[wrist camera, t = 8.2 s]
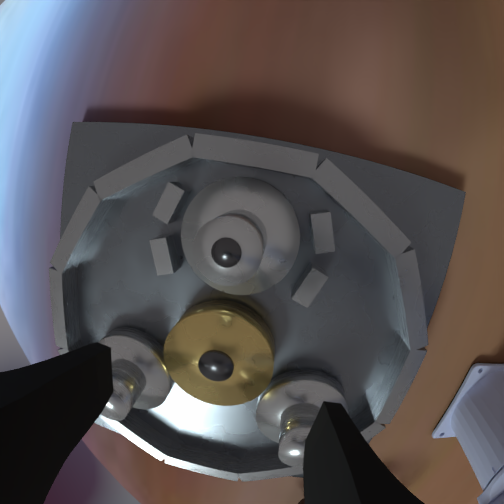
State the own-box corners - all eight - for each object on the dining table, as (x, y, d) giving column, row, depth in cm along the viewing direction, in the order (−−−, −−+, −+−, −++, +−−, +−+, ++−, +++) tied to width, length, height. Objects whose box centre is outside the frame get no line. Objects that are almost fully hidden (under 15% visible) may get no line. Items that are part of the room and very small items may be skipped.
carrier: (457, 191, 16) (513, 198, 10) (343, 471, 22) (348, 519, 16) (81, 123, 17) (24, 113, 12) (83, 409, 23) (54, 445, 18)
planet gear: (315, 200, 16) (326, 207, 11) (275, 300, 17) (271, 341, 13) (209, 162, 16) (179, 156, 11) (177, 263, 17) (142, 291, 13)
